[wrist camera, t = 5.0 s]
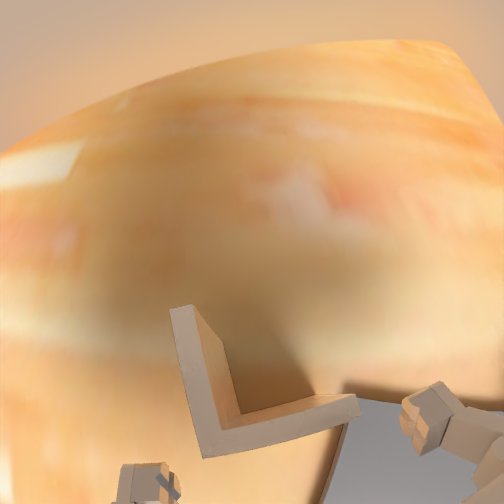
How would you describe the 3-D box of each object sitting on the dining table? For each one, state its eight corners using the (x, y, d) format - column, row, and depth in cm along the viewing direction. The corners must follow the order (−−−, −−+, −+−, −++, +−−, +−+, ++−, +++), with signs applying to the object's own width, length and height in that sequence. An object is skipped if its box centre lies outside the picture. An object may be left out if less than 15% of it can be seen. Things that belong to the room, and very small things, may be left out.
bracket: (230, 431, 15) (202, 458, 8) (209, 346, 17) (169, 309, 10) (319, 407, 16) (362, 416, 8) (295, 324, 18) (316, 272, 11)
